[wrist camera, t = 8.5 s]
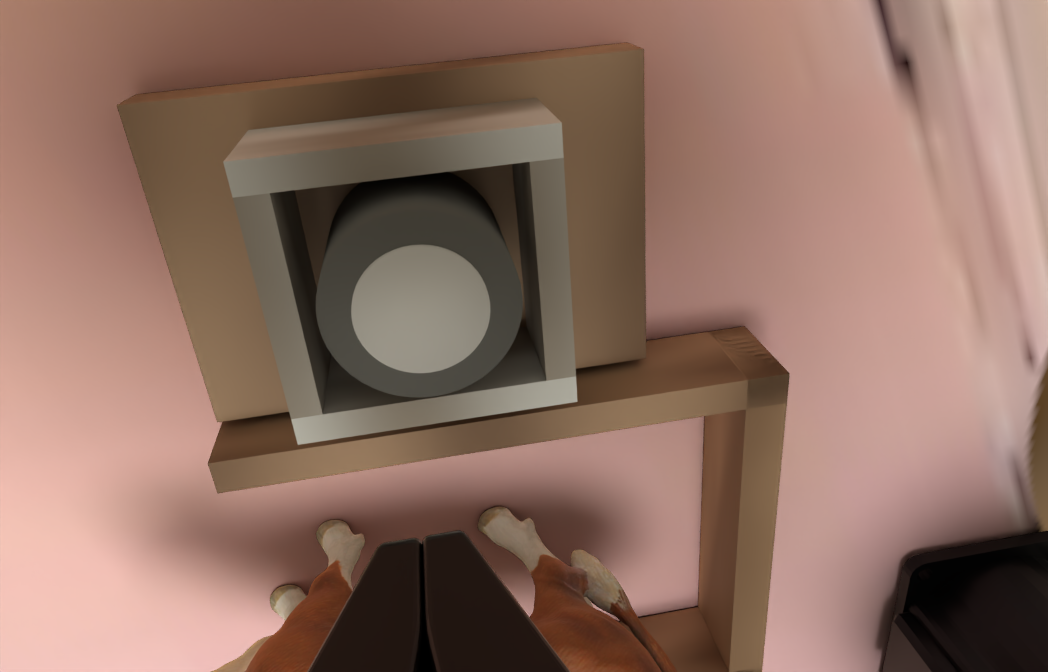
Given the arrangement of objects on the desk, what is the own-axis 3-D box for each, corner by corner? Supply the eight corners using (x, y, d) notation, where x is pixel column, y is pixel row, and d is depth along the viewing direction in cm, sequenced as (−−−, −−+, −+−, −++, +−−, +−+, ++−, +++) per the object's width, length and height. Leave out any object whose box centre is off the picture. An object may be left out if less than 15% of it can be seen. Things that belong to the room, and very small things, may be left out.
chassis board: (762, 28, 16) (855, 46, 13) (727, 619, 25) (779, 721, 21) (136, 94, 15) (65, 133, 12) (318, 695, 23) (307, 817, 20)
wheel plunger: (492, 155, 15) (515, 199, 13) (508, 315, 17) (531, 386, 14) (311, 176, 15) (293, 227, 12) (346, 338, 17) (336, 415, 14)
